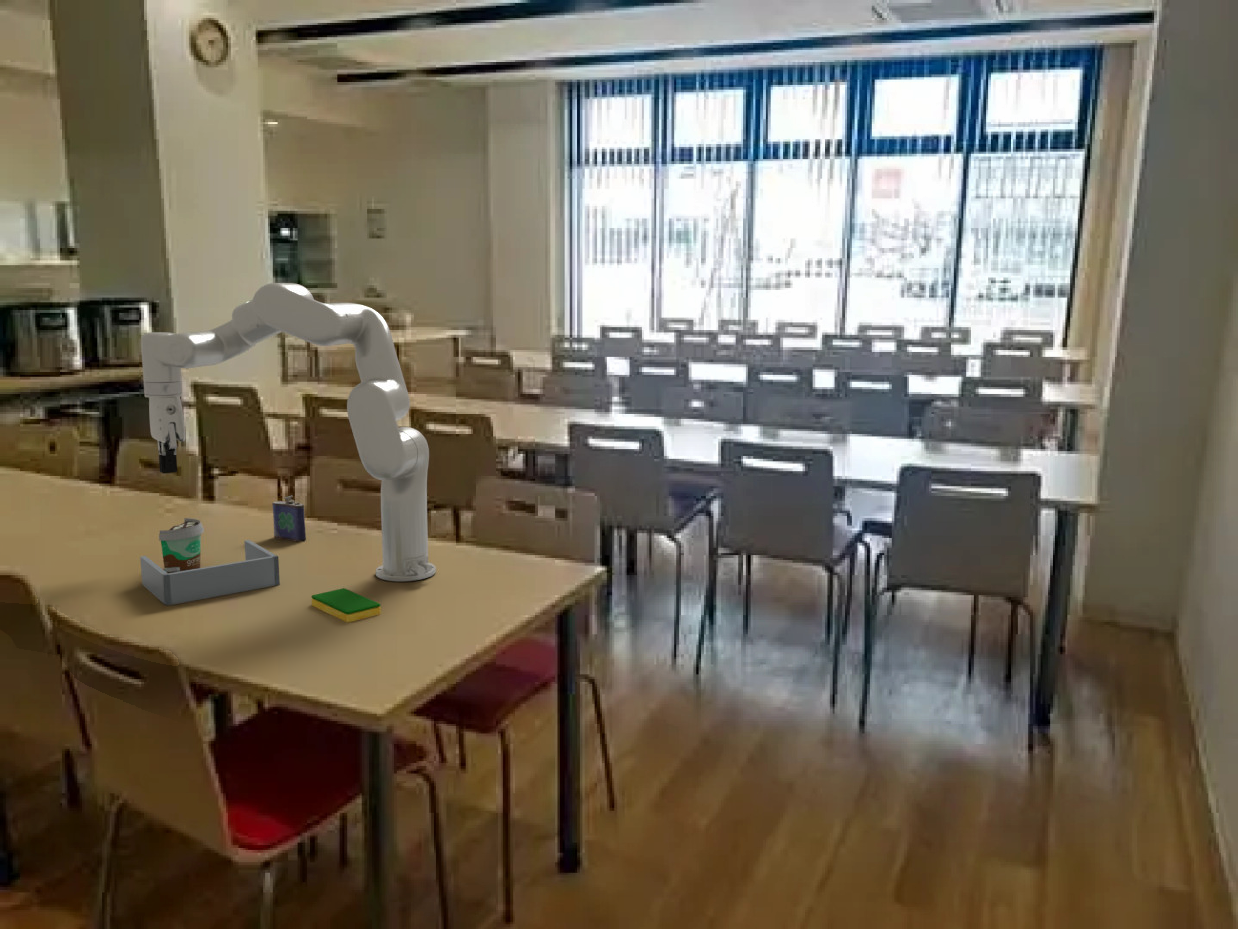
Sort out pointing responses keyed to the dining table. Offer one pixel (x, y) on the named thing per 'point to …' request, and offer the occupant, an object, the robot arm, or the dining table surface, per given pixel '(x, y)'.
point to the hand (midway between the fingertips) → (168, 472)
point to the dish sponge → (346, 605)
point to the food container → (182, 546)
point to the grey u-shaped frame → (212, 577)
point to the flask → (289, 520)
